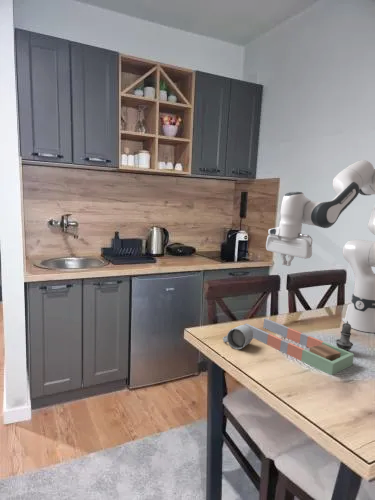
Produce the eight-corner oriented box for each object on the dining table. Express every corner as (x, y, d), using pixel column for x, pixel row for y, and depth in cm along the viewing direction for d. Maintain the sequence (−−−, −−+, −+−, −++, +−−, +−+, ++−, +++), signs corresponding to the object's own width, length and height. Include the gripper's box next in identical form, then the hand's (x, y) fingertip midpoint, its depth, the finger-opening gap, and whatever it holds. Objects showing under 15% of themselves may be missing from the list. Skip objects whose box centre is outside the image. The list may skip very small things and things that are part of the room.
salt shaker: (353, 356, 125) (358, 325, 123) (336, 354, 126) (340, 322, 124) (349, 349, 130) (354, 319, 129) (333, 347, 132) (337, 317, 130)
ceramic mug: (253, 344, 129) (255, 325, 128) (245, 352, 123) (246, 331, 121) (228, 337, 135) (229, 318, 134) (218, 344, 128) (219, 324, 127)
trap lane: (265, 327, 148) (266, 318, 147) (352, 364, 118) (354, 353, 118) (243, 333, 140) (244, 323, 139) (331, 375, 110) (333, 363, 109)
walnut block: (322, 357, 123) (324, 344, 122) (338, 366, 117) (340, 352, 116) (308, 360, 120) (309, 347, 119) (324, 370, 113) (326, 356, 113)
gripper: (317, 235, 134) (313, 269, 136) (274, 229, 150) (271, 260, 152) (308, 235, 130) (304, 271, 132) (265, 229, 146) (262, 261, 148)
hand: (286, 265), depth 142 cm, fingers closed
